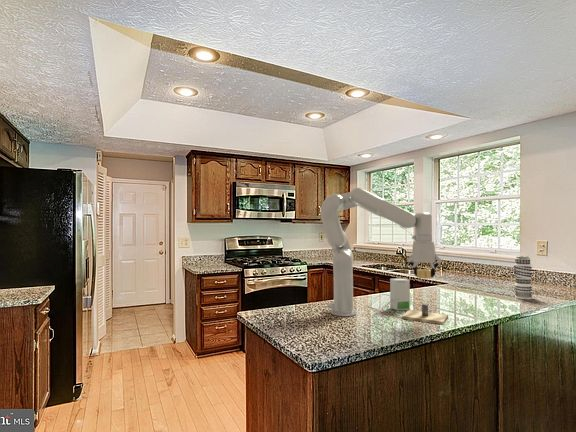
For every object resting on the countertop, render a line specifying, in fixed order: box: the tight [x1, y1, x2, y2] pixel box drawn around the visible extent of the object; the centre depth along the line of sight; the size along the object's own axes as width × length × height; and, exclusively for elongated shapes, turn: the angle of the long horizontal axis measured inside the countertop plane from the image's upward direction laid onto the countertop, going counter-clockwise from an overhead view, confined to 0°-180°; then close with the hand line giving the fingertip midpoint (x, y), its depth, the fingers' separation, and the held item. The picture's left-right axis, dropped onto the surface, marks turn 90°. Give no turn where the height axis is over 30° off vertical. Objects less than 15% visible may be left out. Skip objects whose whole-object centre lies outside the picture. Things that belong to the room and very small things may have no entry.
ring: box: [416, 268, 433, 280], centre depth 163 cm, size 7×7×4 cm
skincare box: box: [389, 277, 411, 311], centre depth 181 cm, size 8×7×16 cm
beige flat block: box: [401, 303, 449, 325], centre depth 163 cm, size 18×14×6 cm
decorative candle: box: [513, 255, 533, 300], centre depth 207 cm, size 9×9×25 cm
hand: (424, 276), depth 163 cm, fingers closed on ring, 6 cm apart
